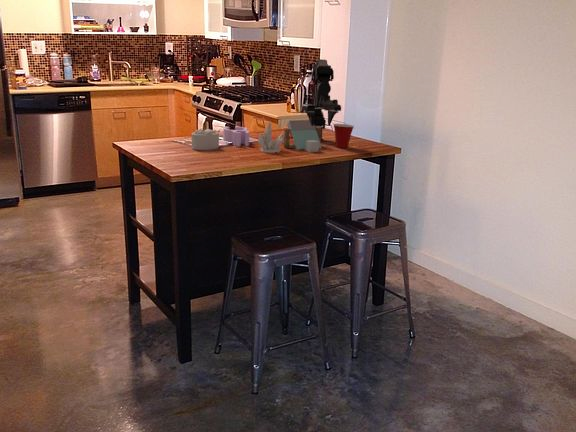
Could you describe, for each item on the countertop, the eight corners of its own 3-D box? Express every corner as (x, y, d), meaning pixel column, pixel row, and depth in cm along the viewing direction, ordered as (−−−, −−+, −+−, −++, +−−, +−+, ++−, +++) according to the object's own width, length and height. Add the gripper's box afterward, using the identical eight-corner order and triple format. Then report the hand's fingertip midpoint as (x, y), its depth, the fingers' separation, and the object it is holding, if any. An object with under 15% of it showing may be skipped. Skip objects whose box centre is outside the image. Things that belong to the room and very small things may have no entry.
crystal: (288, 151, 271) (289, 120, 266) (264, 153, 264) (265, 121, 259) (278, 147, 279) (279, 117, 274) (254, 149, 272) (255, 118, 267)
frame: (283, 147, 279) (284, 128, 276) (318, 145, 288) (319, 127, 285) (285, 148, 278) (286, 129, 275) (320, 146, 286) (321, 128, 283)
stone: (314, 139, 276) (319, 141, 272) (313, 149, 278) (318, 151, 273) (305, 140, 274) (310, 142, 270) (304, 150, 275) (309, 152, 271)
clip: (254, 146, 281) (255, 132, 279) (231, 147, 276) (231, 133, 274) (241, 138, 298) (242, 126, 296) (219, 139, 293) (219, 126, 291)
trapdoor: (286, 124, 281) (288, 120, 278) (310, 123, 287) (313, 119, 284) (294, 152, 276) (297, 148, 273) (318, 150, 282) (321, 147, 279)
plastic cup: (355, 147, 289) (357, 123, 285) (348, 150, 279) (350, 126, 276) (335, 144, 293) (337, 121, 289) (328, 147, 284) (330, 124, 280)
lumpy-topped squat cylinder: (221, 148, 271) (221, 130, 269) (198, 151, 263) (198, 132, 260) (209, 144, 279) (209, 127, 276) (187, 147, 270) (186, 129, 268)
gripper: (313, 94, 252) (311, 129, 257) (348, 94, 260) (346, 127, 265) (302, 92, 261) (300, 125, 266) (336, 91, 269) (334, 124, 274)
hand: (320, 125), depth 268 cm, fingers open, 9 cm apart
